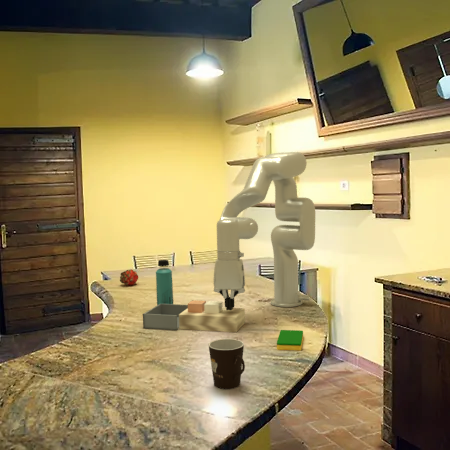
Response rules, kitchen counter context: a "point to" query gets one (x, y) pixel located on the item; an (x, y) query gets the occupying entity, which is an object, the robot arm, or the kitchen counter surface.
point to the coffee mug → (227, 362)
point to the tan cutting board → (213, 320)
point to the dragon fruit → (129, 277)
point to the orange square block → (196, 306)
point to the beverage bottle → (164, 284)
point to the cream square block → (213, 307)
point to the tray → (163, 317)
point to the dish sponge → (290, 340)
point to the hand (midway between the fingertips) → (229, 309)
